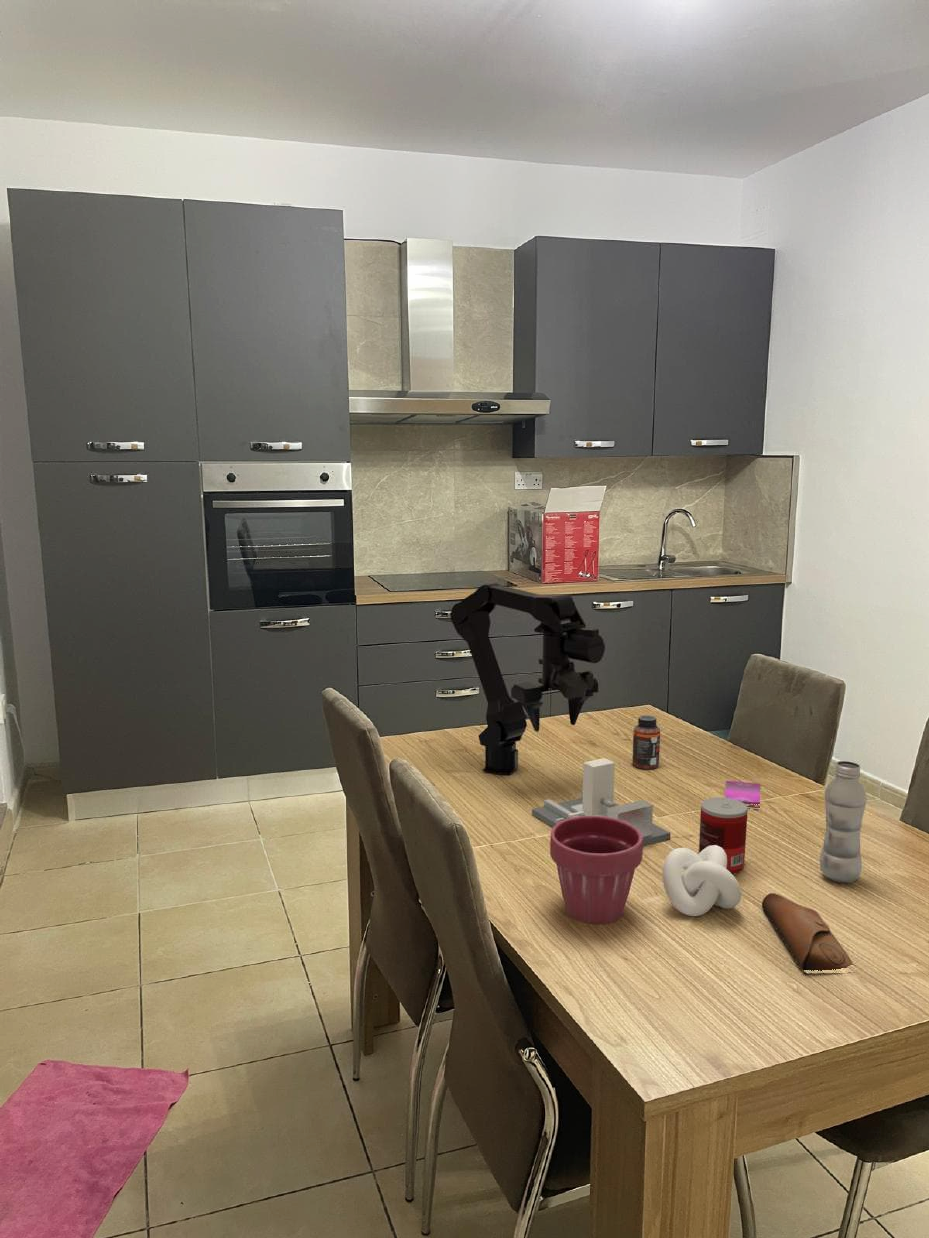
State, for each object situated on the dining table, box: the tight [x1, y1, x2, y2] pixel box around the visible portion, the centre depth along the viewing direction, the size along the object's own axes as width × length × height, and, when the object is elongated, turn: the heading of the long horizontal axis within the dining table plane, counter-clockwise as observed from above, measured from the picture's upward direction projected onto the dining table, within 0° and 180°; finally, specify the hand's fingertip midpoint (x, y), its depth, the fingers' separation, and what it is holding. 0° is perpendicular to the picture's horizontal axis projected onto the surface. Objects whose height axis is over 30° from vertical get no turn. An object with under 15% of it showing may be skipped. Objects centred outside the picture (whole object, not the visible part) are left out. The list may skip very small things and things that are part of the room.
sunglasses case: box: [761, 892, 854, 972], centre depth 135 cm, size 18×7×7 cm
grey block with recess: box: [607, 799, 654, 838], centre depth 167 cm, size 3×8×6 cm, turn 119°
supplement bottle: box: [632, 715, 661, 770], centre depth 207 cm, size 6×6×11 cm
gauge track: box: [531, 791, 671, 847], centre depth 175 cm, size 22×16×2 cm
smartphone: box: [724, 780, 762, 811], centre depth 191 cm, size 7×15×1 cm, turn 162°
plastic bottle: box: [819, 760, 868, 884], centre depth 152 cm, size 6×7×20 cm
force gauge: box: [568, 757, 616, 817], centre depth 173 cm, size 8×10×11 cm
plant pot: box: [549, 816, 644, 925], centre depth 142 cm, size 14×14×13 cm
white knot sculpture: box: [662, 845, 742, 917], centre depth 144 cm, size 11×12×9 cm
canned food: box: [698, 796, 748, 875], centre depth 158 cm, size 8×8×11 cm
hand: (554, 727), depth 193 cm, fingers open, 9 cm apart
